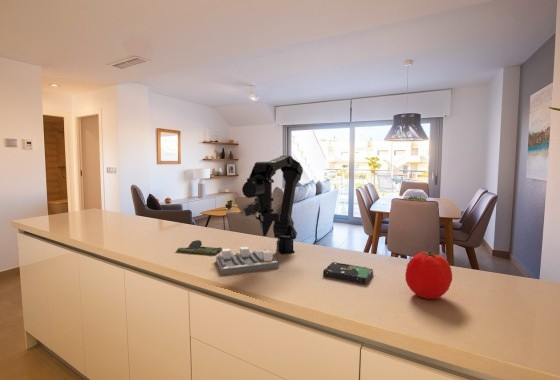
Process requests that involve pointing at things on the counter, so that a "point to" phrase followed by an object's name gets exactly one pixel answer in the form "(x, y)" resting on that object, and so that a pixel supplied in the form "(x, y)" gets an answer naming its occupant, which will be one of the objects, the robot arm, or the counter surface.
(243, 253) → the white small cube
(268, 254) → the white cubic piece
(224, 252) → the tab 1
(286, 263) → the counter surface
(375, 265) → the counter surface
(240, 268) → the switch bank
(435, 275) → the tomato
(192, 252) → the gun
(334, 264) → the disk drive
